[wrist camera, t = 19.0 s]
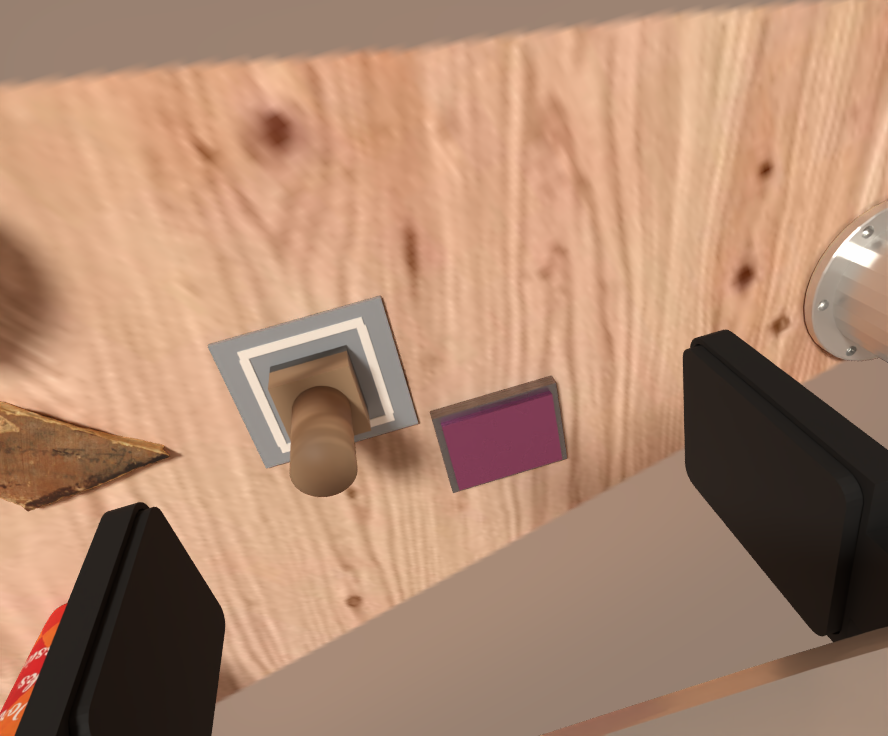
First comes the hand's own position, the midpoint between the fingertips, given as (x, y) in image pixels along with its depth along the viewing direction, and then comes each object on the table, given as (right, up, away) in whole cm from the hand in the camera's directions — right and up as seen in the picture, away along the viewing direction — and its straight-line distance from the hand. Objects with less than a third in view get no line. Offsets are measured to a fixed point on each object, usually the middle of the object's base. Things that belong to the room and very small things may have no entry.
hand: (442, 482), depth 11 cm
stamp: (-8, +1, +31) cm, 32 cm away
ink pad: (+4, -3, +36) cm, 36 cm away
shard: (-25, -2, +30) cm, 39 cm away
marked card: (-8, +1, +31) cm, 32 cm away
